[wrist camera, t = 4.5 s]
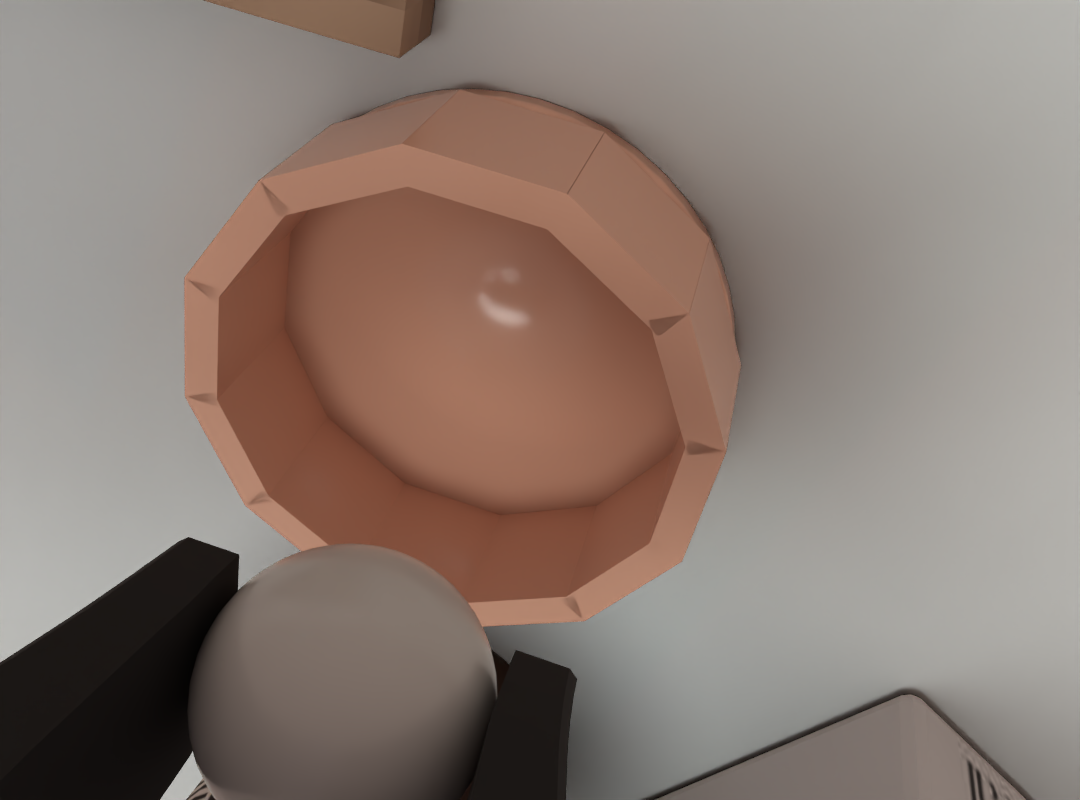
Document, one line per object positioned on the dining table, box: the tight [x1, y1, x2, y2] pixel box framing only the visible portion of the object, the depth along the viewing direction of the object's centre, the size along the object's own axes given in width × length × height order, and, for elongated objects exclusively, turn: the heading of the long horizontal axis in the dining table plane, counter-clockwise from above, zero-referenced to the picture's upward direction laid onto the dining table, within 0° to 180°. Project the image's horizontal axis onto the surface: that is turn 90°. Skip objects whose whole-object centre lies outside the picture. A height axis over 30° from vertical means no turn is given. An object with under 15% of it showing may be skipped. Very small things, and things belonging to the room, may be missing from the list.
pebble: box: [187, 543, 497, 800], centre depth 11 cm, size 3×3×3 cm
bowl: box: [184, 89, 741, 627], centre depth 18 cm, size 9×9×3 cm
